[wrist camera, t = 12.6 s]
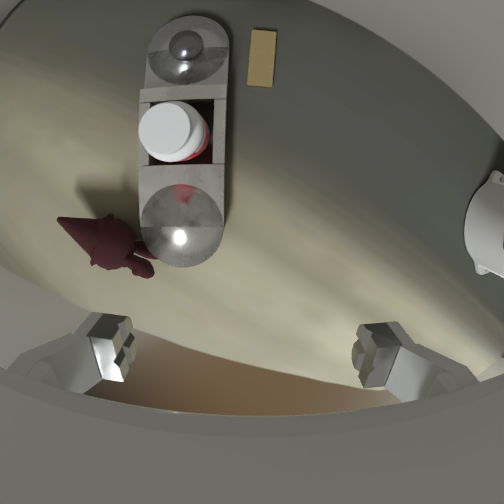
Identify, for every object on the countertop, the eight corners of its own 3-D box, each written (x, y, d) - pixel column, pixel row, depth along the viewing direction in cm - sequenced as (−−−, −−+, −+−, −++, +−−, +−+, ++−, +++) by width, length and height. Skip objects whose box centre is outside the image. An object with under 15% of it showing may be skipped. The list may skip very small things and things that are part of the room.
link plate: (251, 33, 30) (252, 29, 28) (275, 35, 30) (276, 31, 29) (246, 87, 32) (247, 85, 31) (271, 89, 32) (272, 87, 31)
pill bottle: (153, 150, 33) (120, 149, 23) (172, 105, 32) (146, 86, 21) (198, 168, 35) (182, 173, 24) (218, 122, 33) (210, 107, 22)
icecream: (42, 255, 30) (143, 302, 34) (45, 207, 27) (160, 259, 31) (66, 228, 36) (156, 269, 40) (73, 183, 32) (173, 227, 37)
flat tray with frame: (154, 24, 28) (148, 15, 25) (231, 19, 28) (230, 9, 25) (149, 258, 38) (143, 266, 35) (224, 259, 38) (223, 268, 36)
